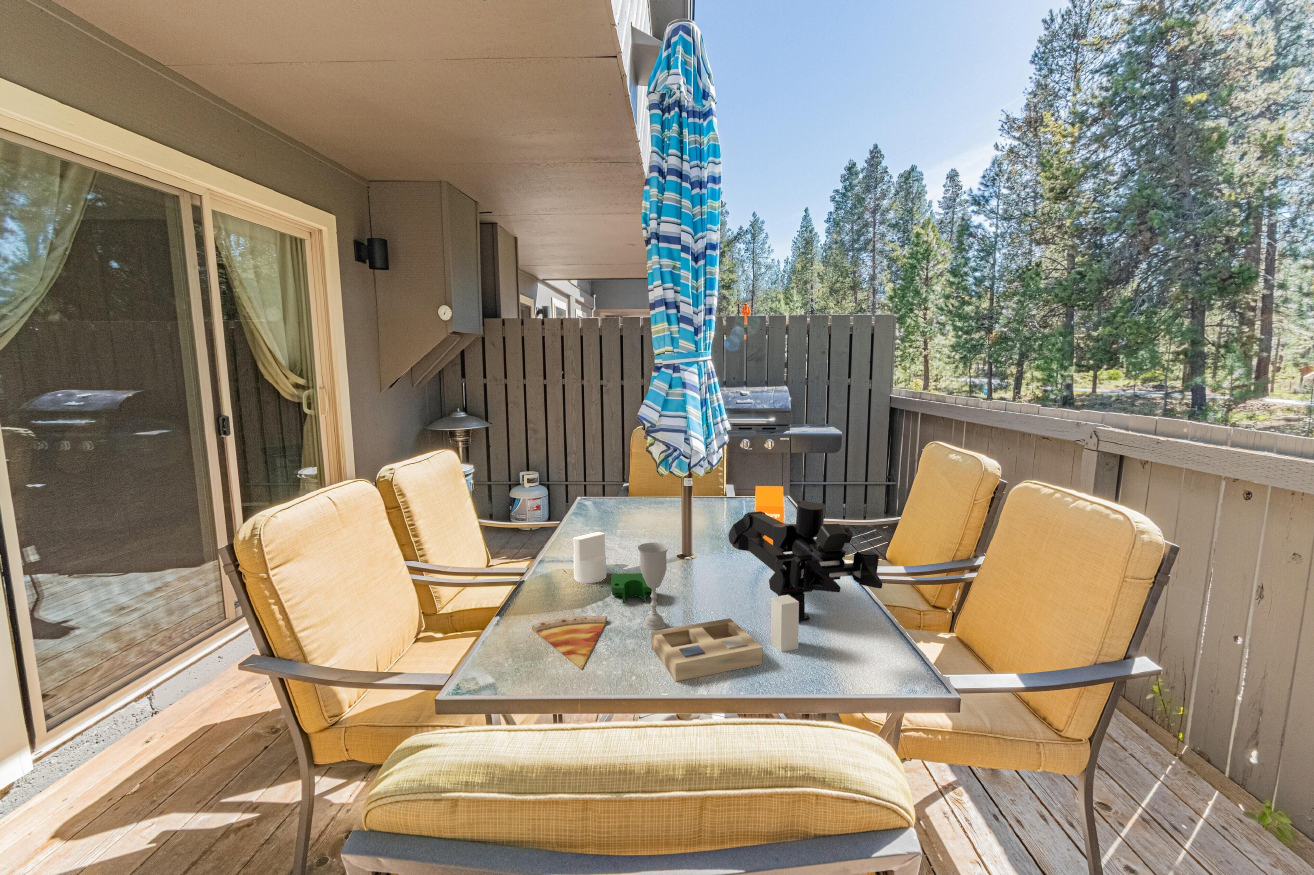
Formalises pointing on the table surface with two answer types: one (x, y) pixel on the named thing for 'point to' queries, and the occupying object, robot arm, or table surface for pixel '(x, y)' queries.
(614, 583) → the clamp
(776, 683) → the table surface
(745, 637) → the socket board
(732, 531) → the robot arm
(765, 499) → the orange juice
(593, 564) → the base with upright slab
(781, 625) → the plug
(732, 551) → the table surface
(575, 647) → the pizza slice
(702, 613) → the table surface
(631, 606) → the table surface
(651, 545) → the chalice
